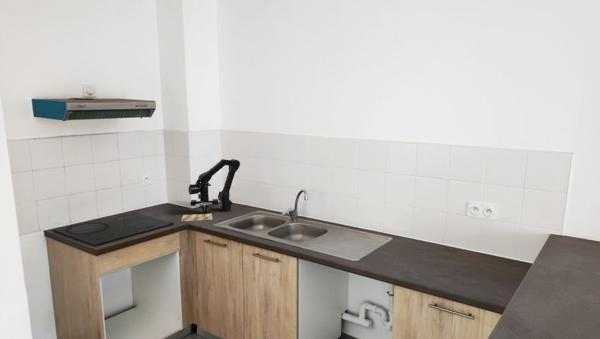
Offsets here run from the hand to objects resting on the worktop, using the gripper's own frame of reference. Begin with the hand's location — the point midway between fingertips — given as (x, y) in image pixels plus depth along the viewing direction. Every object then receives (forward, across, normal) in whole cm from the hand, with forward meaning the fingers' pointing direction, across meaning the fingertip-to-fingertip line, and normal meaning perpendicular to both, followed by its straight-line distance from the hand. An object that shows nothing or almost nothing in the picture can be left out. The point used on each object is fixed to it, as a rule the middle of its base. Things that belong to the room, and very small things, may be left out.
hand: (204, 214), depth 289 cm
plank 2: (+1, 0, +3) cm, 3 cm away
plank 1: (+1, +10, +3) cm, 10 cm away
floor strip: (+1, +5, +10) cm, 12 cm away
